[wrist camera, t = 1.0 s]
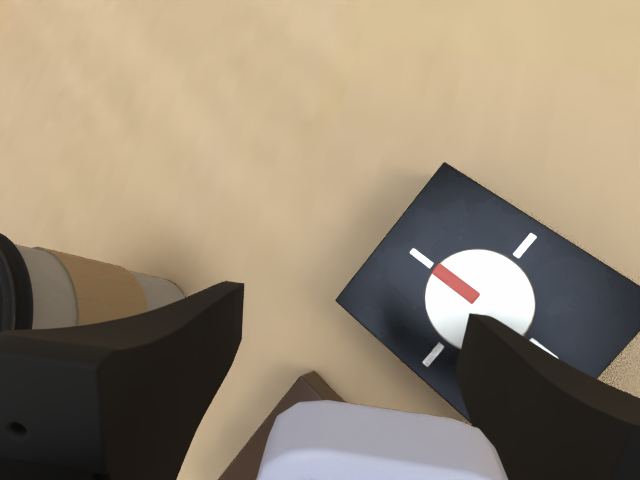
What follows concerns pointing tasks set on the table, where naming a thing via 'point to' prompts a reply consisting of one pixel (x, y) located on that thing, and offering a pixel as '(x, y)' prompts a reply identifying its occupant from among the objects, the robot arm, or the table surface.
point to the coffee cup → (71, 289)
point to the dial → (478, 293)
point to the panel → (510, 240)
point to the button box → (247, 463)
